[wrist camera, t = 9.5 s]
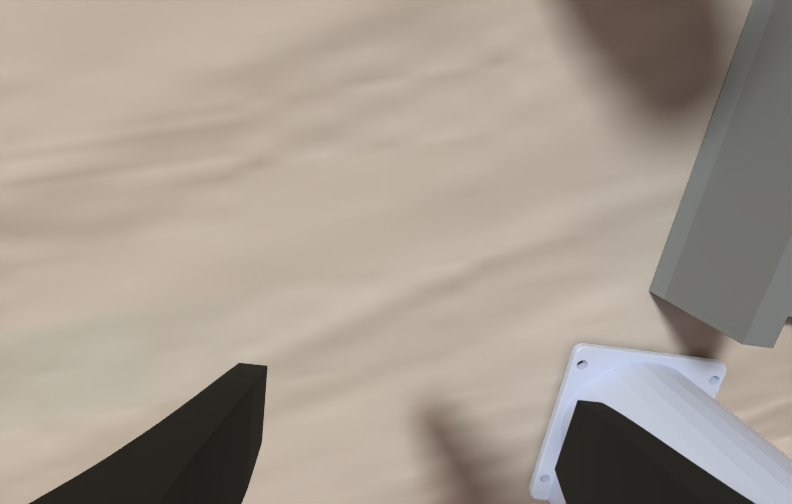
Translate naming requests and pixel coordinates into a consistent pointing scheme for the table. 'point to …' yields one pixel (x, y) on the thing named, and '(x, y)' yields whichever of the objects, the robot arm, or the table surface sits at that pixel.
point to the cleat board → (741, 195)
